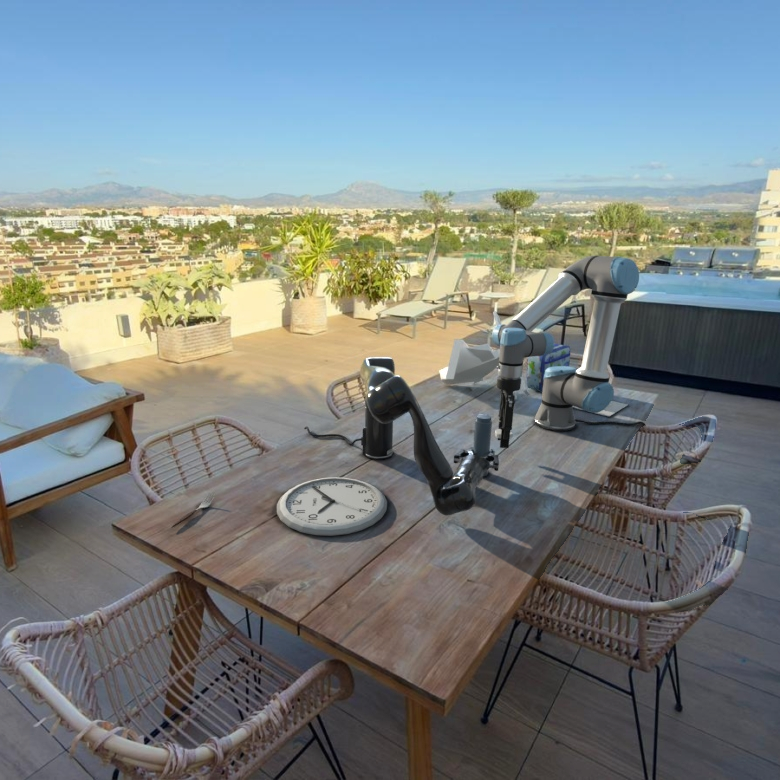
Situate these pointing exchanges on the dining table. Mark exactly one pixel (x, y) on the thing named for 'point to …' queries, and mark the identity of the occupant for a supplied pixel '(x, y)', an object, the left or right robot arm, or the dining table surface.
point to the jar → (482, 435)
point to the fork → (203, 505)
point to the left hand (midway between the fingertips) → (482, 450)
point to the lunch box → (545, 365)
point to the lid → (498, 433)
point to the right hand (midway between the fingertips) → (502, 443)
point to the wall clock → (331, 506)
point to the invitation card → (610, 408)
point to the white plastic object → (473, 363)
